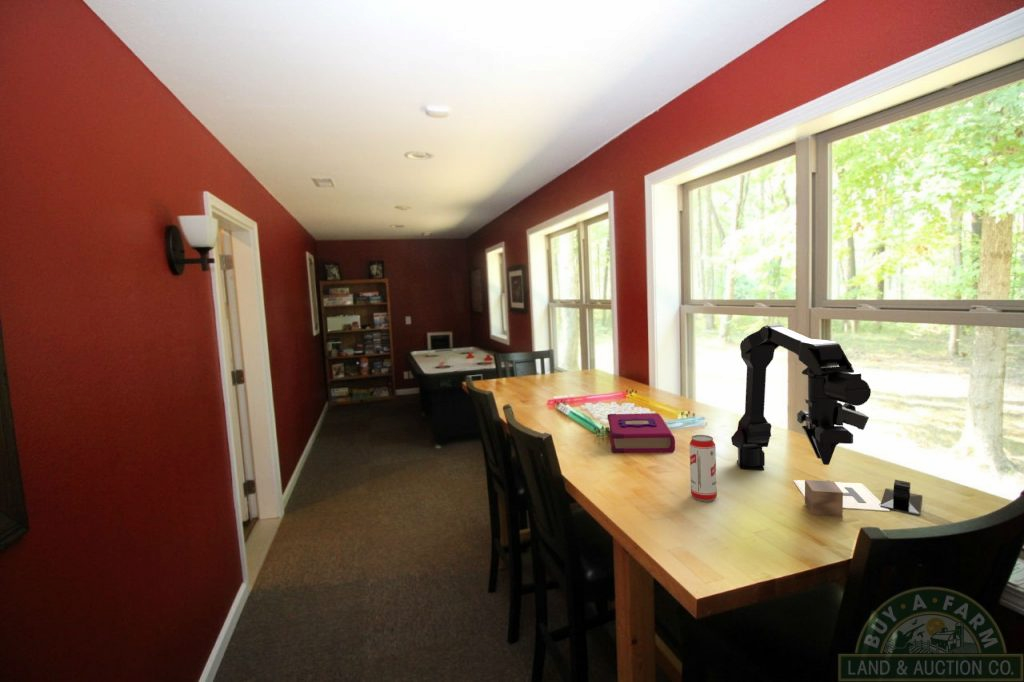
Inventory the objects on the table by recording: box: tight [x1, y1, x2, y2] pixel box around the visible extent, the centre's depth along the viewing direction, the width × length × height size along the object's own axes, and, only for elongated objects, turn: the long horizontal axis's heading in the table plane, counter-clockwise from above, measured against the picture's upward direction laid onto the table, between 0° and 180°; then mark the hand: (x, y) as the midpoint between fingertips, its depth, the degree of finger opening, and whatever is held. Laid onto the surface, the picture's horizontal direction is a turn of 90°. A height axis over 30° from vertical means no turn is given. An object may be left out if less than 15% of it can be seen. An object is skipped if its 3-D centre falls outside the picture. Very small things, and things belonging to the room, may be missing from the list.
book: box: [606, 412, 676, 454], centre depth 171 cm, size 21×28×8 cm
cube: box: [804, 479, 844, 518], centre depth 110 cm, size 6×6×6 cm
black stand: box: [879, 479, 923, 516], centre depth 112 cm, size 12×7×5 cm, turn 137°
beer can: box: [689, 434, 718, 503], centre depth 120 cm, size 6×6×16 cm
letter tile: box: [792, 479, 891, 512], centre depth 118 cm, size 16×16×1 cm
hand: (823, 461), depth 109 cm, fingers open, 4 cm apart
